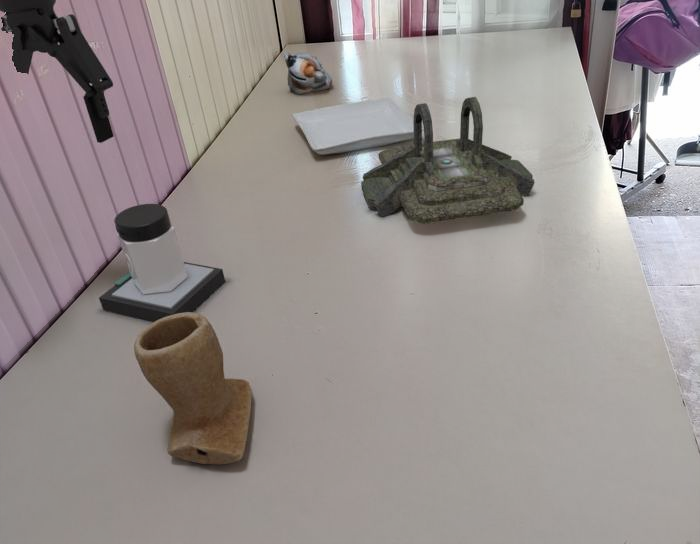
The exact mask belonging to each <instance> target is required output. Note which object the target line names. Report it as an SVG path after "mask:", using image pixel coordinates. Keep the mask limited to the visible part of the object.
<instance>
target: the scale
mask: <svg viewBox="0 0 700 544" xmlns="http://www.w3.org/2000/svg"><path fill="white" fill-rule="evenodd" d="M183 262H184V265H185V269H186V273H187V278H186V279H185V280H184V281H183V282H181V283H180V284H179V285H178V286H177V287H175V288H174V289H173V290H172V291H170V292H161V293H152V294H143V293H142V292H141V291H140V290H139V289H138V287H137V286H136V285H135V284H134V282H133V279H132V277H131V274H130V271H128V272H127V273H125V274H124V275H123V276H121V277H120V278H119V279H118V280H116V281H115V282H114V283H113V284H114V285H113V286H112V287H111V288H109V289H108V290H107V291H106V292H104V293H103V294H102V295H100V296H98V299H99V302H100V304H101V307H102V310H103V311H105V312H110V313H114V314H118V315H123V316H127V317H132V318H137V319H141V320H144V321H149V322H152V323H154V322H155V321H157V320H159V319H161V318H164V317H167V316H170V315H174V314H178V313H185V312H193V313H194V311H195V310H197V308H199V307H200V306H201V305H202V304H203V303H204V302H205V301H206V300H207V299H208V298H209V297H210V296H212V295H213V293H215V292H216V291H217V290H218V289H219V288H220V287H221V286H222V285H223V284H224V283H225V282H226V279H225V275H224V270H223V268H219V267H214V266H208V265H202V264H197V263H192V262H187V261H183Z"/></svg>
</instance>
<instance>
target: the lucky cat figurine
mask: <svg viewBox="0 0 700 544" xmlns="http://www.w3.org/2000/svg"><path fill="white" fill-rule="evenodd" d="M283 57H284V62H285V64H286V67H287V68H288V69H287V71H288V72H287V86H288V88H289V90H290V92H291V93H294V94H296V95H303V94H306V93H309V92H316V91H323V90H331V89H332V84H333V79H332V76H331V75H330V74H329V73H328V72H327V71H326V70H325V68H324V67H323V65H322V63H321V61H319V60H318V58H317V56H316V55H313V56H312V54H309V53H306V52H297V53H295V54H293V55H291V54H290V52H286V53H285V54H284V55H283Z"/></svg>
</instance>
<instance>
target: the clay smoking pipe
mask: <svg viewBox="0 0 700 544" xmlns="http://www.w3.org/2000/svg"><path fill="white" fill-rule="evenodd" d="M133 349H134V350H133V351H134V357H135V359H136V361H137V364H138V366H139V368H140V371H141V373H142V374H143V377H144V378H145V380H146V381H147V382H148V383H149V384H150V386H152V388H153V389H154V390H155V391H156V392H157V393H158V394H159V395H160V396H161V397H162V398H163V400H164V401H165V402H166V403H167V405H168V406H169V407H170V408H171V410H172V412H173V416H172V422H171V429H170V436H169V441H168V445H167V454H168V455H169V456H171V457H175V458H178V459H181V460H184V461H187V462H193V463H196V464H197V463H198V464H200V465H201V464H202V465H207V464H210V465H225V464H226V465H228V464H233V463H236V462H239V461H241V459H243V457H244V454H245V450H246V444H247V441H248V433H249V425H250V419H251V413H252V397H253V396H252V395H253V394H252V393H253V392H252V387H251V385H250V382H249V381H247V380H245V379H242V378H241V379H240V378H225V370H224V352H223V349H222V347H221V344H220V341H219V338H218V336H217V333H216V331H215V329H214V327H213V325H212V323H211V322H210V320H208V318H207V317H206V316H204V315H203V314H200V313H197V312H194V311H193V312H185V313H178V314H174V315H170V316H167V317H164V318H161V319H159V320H157V321H155V322H152V323H150V324H149V325H147V326H146V327H145V328H143V329H142V330H141V331H140V332H139V333H138V334H137V336H136V339H135V341H134V346H133Z"/></svg>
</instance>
